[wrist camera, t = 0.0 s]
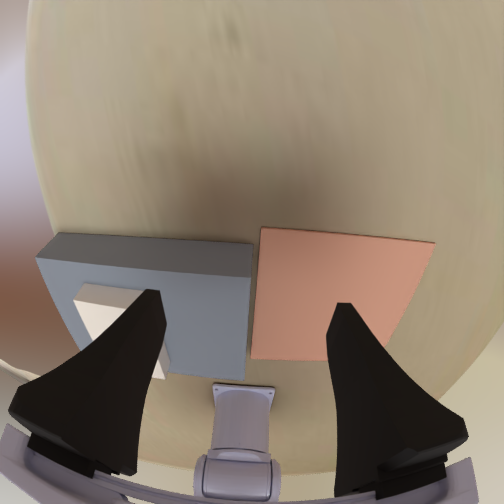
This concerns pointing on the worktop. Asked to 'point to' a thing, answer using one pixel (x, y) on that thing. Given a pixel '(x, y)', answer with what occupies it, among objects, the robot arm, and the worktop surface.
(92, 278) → the plate
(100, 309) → the white rectangular block
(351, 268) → the terracotta mat
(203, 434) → the worktop surface
